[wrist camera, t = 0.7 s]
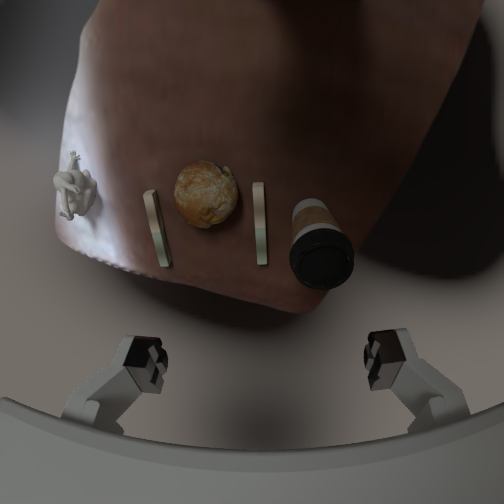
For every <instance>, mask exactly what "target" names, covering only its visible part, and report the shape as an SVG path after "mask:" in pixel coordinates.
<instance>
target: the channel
mask: <svg viewBox="0 0 504 504" xmlns="http://www.w3.org/2000/svg"><path fill="white" fill-rule="evenodd" d="M143 197H144V202H145V206H146V211H147V215H148V220H149V224H150V228H151V232H152V236H153V240H154V244H155V248H156V252H157V255H158V259H159V263H160V266H169V264H170V262H171V256H170V252H169V248H168V244H167V239H166V235H165V231H164V226H163V221H162V217H161V212H160V207H159V203H158V198H157V193H156V189H155V190H147V191H146V192H145V193H144V194H143ZM253 201H254V217H255V232H256V247H257V263H258V264H267V246H266V224H265V203H264V183H263V182H255V183H253Z"/></svg>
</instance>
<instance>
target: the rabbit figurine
mask: <svg viewBox="0 0 504 504" xmlns="http://www.w3.org/2000/svg"><path fill="white" fill-rule="evenodd" d="M72 153H73V154H72ZM70 154H71V161H70V164H69V166H68V170H67V172H61V171H60V172H58V173H57V174H56V175H55V176H54V178H53V183H54V186H55V188H56V189H57V190H59V191H60V192H61V198H62V205H63V207H64V208H63V209H64V211H65V212H67V213H66V214H65V213H63V212H60V216H64V217H66V219H67V220H69V221H71V220H73V218H74V213H75V214H78V215H79V216H84V215H85V214H86V213H87V211H88V210H89V208H90V207H91V206H92V205H93V203H94V199H95V191H96V181H95V180H94V179H92V178H91V175H90V173H89V171H88V170H87V169H85V170H84V171H83V172H81V171H79V170H75V165H76V160H79V159H80V158H77V157H79V156H80V155H78V156H76V151H75V152H74V151H72V152H71V151H70Z"/></svg>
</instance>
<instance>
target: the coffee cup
mask: <svg viewBox="0 0 504 504" xmlns="http://www.w3.org/2000/svg"><path fill="white" fill-rule="evenodd" d="M289 260H290V265H291V268H292V270H293V272H294V273H295V276H296V278H297V279H298V280H299V281H300V282H301V283H302V284H303V285H305V286H307V287H309V288H312V289H317V290H328V289H332V288H335V287H338V286H340V285H341V284H342V283H344V282H345V281H346V280H347V279H348V278H349V277H350V275H351V273H352V271H353V266H354V261H353V260H354V251H353V247H352V244H351V242H350V240H349V239H348V238H347V237H346V236H345V235H344V233H343V231H342V230H341V228H340V227H339V225H338V224H337V222H336V221H335V219H334V218H333V216H332V215H331V213H330V212H329V210H328V209H327V207H326V206H325V204H324V203H323V202H321V201H320V200H317V199H313V198H309V199H305V200H302V201H301V202H299V203H298V204H297V205H296V206H295V208H294V210H293V217H292V240H291V251H290V258H289Z"/></svg>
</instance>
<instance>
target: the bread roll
mask: <svg viewBox="0 0 504 504" xmlns="http://www.w3.org/2000/svg"><path fill="white" fill-rule="evenodd" d="M173 199H174V204H175V207H176V209H177V211H178V213H179V214H181V216H183V218H184V219H185V220H186V223H187V224H191V225H194V226H196V227H199V228H209V227H211V225H213V224H218V223H221V222H222V221H224V220H225V219H226V218H227V217H228V216H229V215H231V213H232V212H233V211H234V209H235V208H236V206H237V201H238V189H237V184H236V181H235V180H234V177H233V176H232V173H231V171H230V170H229V168H228V167H226V166H224V167H221V166H220V165H217V164H215V163H213V162H211V161H205V160H199V161H195V162H192V163H190V164H189V165H187V166H186V167H185V168H184V169H183V170H182V171H181V172H180V174H179V176H178V178H177V180H176V184H175V187H174V193H173Z"/></svg>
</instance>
